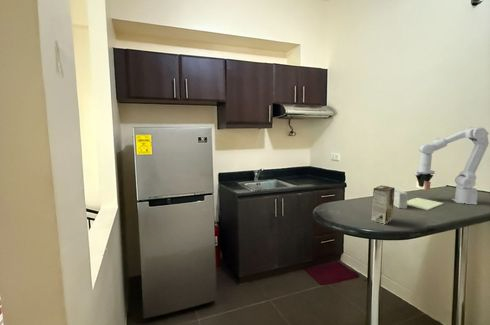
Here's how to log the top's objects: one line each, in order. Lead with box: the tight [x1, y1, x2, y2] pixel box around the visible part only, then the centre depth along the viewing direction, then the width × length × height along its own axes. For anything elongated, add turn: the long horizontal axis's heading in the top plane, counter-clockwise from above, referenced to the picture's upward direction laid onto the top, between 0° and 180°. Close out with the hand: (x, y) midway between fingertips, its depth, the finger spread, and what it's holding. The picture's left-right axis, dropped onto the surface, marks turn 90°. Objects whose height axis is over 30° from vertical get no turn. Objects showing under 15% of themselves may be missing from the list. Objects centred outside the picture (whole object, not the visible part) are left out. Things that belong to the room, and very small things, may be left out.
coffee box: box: [371, 185, 396, 225], centre depth 120 cm, size 9×6×16 cm
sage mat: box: [407, 197, 444, 211], centre depth 148 cm, size 20×14×1 cm
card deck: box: [415, 180, 432, 191], centre depth 157 cm, size 3×6×4 cm, turn 17°
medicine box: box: [393, 189, 409, 210], centre depth 143 cm, size 8×4×9 cm, turn 179°
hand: (423, 186), depth 157 cm, fingers closed on card deck, 3 cm apart
